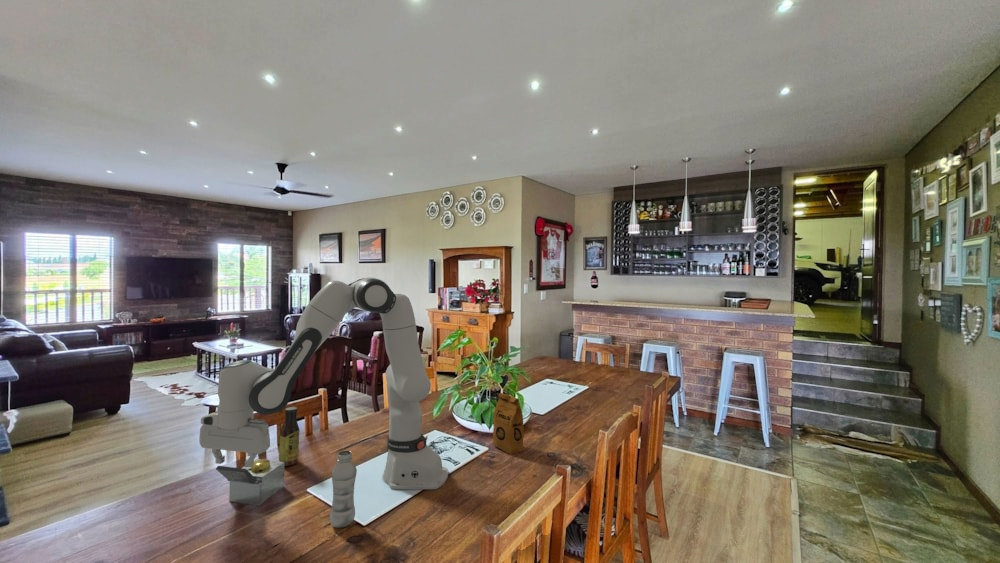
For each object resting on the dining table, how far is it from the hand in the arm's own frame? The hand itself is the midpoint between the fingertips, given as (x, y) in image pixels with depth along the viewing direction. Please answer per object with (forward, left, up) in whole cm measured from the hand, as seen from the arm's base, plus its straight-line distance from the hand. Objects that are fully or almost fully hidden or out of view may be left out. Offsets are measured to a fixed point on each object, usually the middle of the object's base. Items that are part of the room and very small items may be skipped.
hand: (234, 464), depth 118 cm
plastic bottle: (-34, -1, -14) cm, 36 cm away
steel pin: (0, -10, -13) cm, 16 cm away
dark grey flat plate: (0, -1, -4) cm, 4 cm away
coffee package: (-73, -60, -14) cm, 95 cm away
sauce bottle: (+4, -30, -14) cm, 33 cm away
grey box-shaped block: (0, -10, -14) cm, 17 cm away
